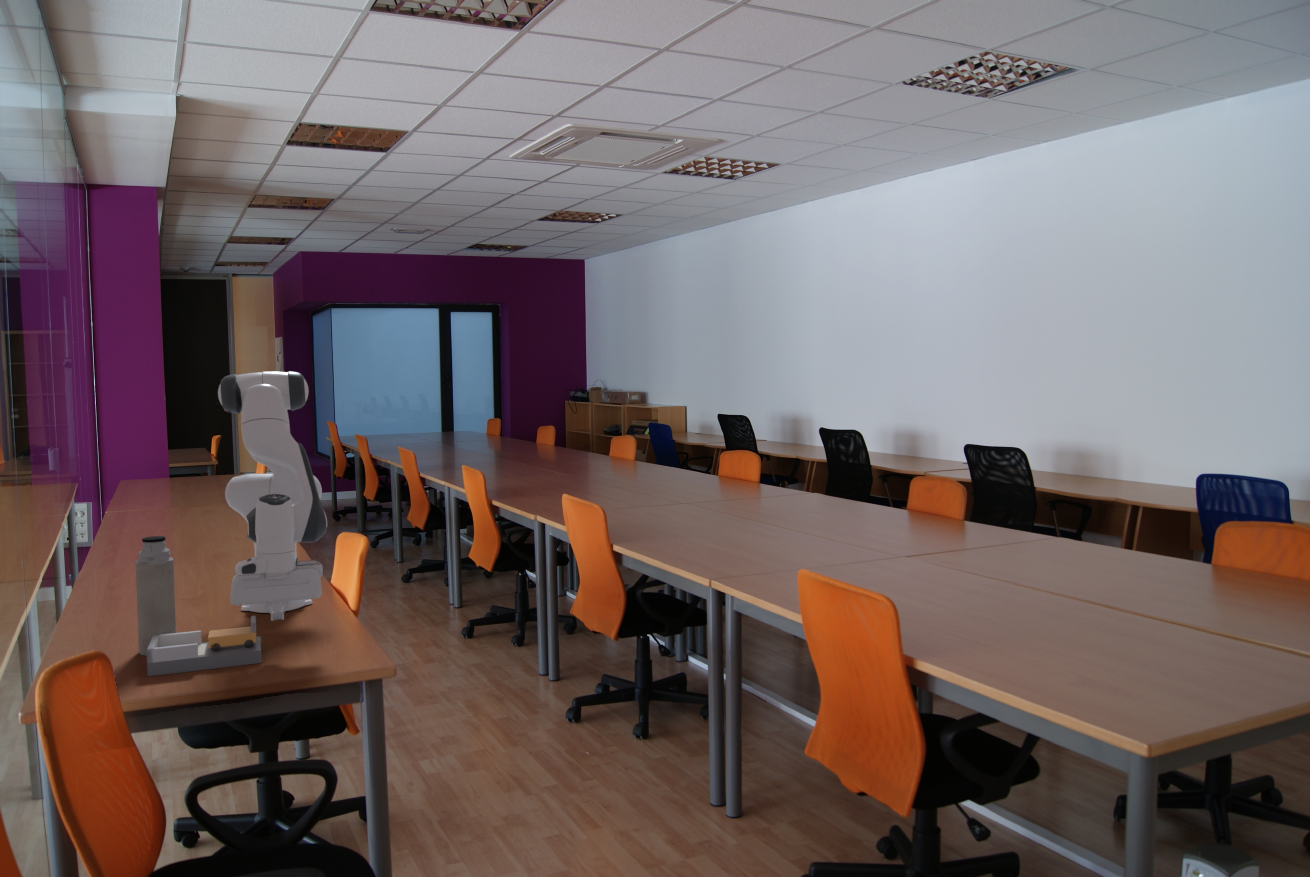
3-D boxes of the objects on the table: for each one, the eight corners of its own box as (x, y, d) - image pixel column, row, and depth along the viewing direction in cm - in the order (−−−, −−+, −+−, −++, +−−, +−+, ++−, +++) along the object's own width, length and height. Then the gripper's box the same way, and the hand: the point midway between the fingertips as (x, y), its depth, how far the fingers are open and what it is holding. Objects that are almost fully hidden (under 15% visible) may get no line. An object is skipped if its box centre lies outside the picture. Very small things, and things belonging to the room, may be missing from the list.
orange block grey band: (210, 645, 206) (209, 620, 205) (256, 639, 210) (255, 615, 209) (208, 652, 200) (207, 626, 200) (256, 647, 204) (255, 622, 204)
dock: (154, 660, 204) (153, 635, 203) (261, 648, 213) (260, 624, 213) (147, 676, 193) (146, 649, 192) (261, 662, 202) (260, 637, 202)
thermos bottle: (150, 645, 215) (146, 534, 213) (182, 645, 215) (179, 534, 213) (132, 655, 207) (127, 540, 205) (165, 655, 207) (161, 540, 205)
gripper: (321, 557, 215) (322, 612, 215) (230, 563, 206) (231, 620, 207) (323, 561, 209) (324, 618, 210) (228, 568, 201) (230, 627, 201)
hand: (277, 619), depth 208 cm, fingers closed
